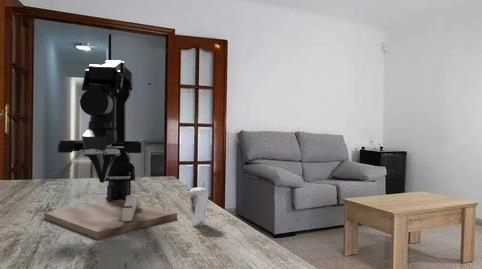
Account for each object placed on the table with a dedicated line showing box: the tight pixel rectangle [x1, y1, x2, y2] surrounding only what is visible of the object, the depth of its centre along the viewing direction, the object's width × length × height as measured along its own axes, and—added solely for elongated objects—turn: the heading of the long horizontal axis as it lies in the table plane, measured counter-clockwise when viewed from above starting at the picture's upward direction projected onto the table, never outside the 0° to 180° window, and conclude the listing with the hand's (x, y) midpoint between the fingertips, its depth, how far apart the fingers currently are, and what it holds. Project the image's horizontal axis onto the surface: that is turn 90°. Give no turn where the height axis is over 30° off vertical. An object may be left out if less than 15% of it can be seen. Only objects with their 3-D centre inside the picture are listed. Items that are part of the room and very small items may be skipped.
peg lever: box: [122, 194, 141, 221], centre depth 87 cm, size 16×4×3 cm, turn 12°
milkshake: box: [188, 181, 209, 227], centre depth 84 cm, size 4×5×10 cm
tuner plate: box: [43, 200, 178, 240], centre depth 88 cm, size 22×25×2 cm
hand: (102, 182), depth 83 cm, fingers closed
